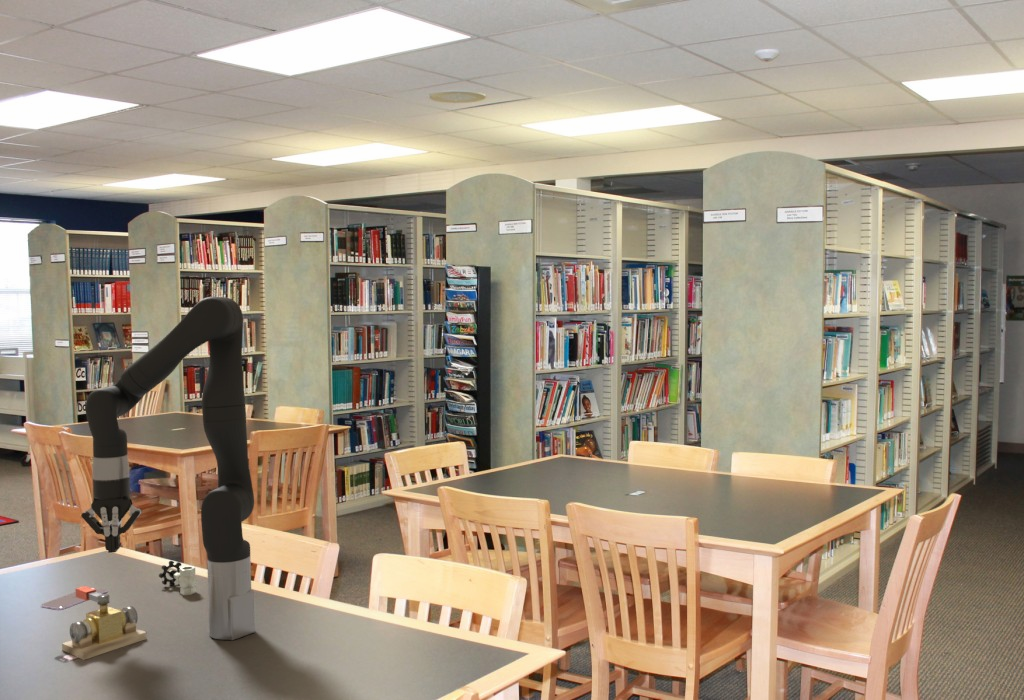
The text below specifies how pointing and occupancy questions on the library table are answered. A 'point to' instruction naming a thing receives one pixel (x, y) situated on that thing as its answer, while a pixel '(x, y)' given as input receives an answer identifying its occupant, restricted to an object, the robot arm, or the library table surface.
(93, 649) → the pipe board
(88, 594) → the valve lever
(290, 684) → the library table surface
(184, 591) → the valve
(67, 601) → the mobile phone
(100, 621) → the valve body
